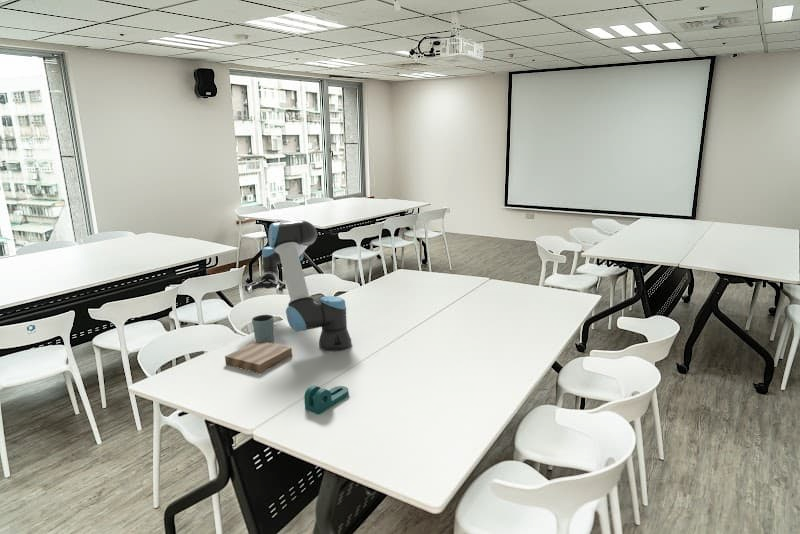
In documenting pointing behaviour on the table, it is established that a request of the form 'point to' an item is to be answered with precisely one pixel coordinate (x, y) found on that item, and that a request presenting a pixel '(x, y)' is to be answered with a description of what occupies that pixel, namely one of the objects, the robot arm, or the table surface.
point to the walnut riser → (258, 356)
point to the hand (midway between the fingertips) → (263, 291)
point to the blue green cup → (263, 328)
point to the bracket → (323, 398)
